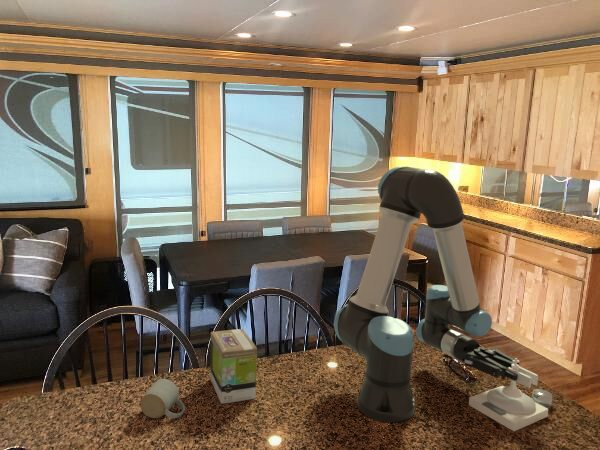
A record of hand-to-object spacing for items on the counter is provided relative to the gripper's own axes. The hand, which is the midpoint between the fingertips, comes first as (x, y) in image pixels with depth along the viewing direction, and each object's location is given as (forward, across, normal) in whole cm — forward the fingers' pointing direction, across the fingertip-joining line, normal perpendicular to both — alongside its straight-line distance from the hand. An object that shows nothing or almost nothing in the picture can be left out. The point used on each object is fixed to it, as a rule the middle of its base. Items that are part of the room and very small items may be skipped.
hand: (533, 381), depth 128 cm
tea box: (-51, +61, -11) cm, 80 cm away
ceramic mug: (-48, +81, -11) cm, 95 cm away
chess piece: (-6, 0, -6) cm, 8 cm away
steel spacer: (-4, -11, -11) cm, 16 cm away
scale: (-6, +1, -11) cm, 12 cm away
